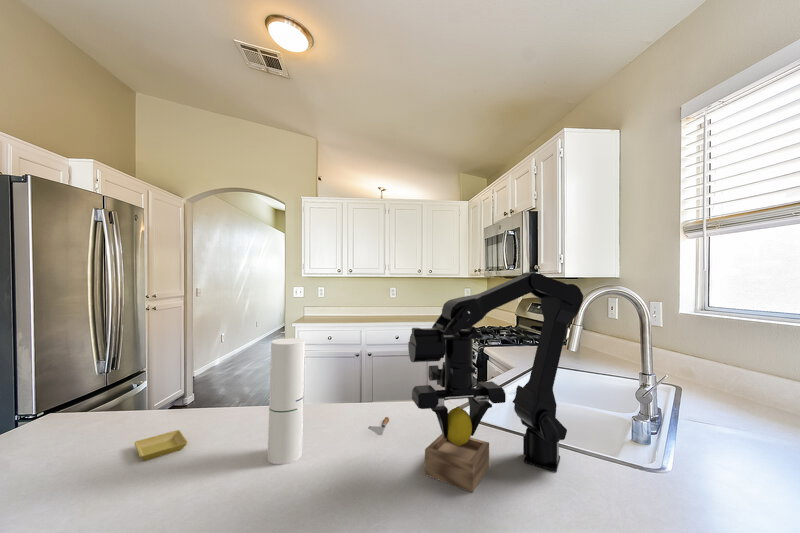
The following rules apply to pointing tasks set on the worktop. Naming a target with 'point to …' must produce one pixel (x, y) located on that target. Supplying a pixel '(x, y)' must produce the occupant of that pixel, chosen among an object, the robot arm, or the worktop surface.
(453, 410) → the lemon
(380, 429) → the putty knife
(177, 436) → the yellow tray
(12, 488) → the worktop surface
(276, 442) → the cylindrical container
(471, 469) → the walnut box
